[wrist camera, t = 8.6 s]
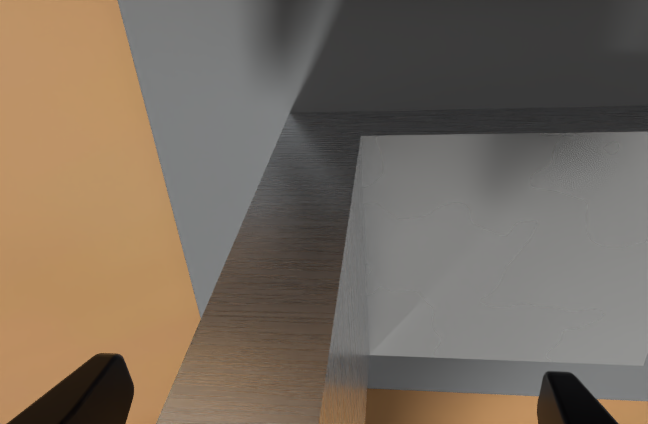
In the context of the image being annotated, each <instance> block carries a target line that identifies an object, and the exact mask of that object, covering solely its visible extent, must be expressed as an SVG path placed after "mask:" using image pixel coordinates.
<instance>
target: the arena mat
mask: <svg viewBox="0 0 648 424" xmlns="http://www.w3.org/2000/svg"><path fill="white" fill-rule="evenodd" d="M118 4H119V8H120V11H121V15H122V19H123V23H124V27H125V30H126V34H127V38H128V42H129V46H130V50H131V53H132V57H133V61H134V65H135V69H136V72H137V76H138V80H139V84H140V88H141V92H142V95H143V99H144V103H145V107H146V111H147V114H148V118H149V122H150V126H151V130H152V134H153V137H154V141H155V145H156V149H157V153H158V156H159V160H160V164H161V168H162V172H163V176H164V179H165V183H166V187H167V191H168V195H169V198H170V202H171V206H172V210H173V214H174V218H175V221H176V225H177V229H178V233H179V237H180V240H181V244H182V248H183V252H184V256H185V260H186V263H187V267H188V271H189V275H190V279H191V282H192V286H193V290H194V294H195V298H196V302H197V305H198V309H199V313H200V317H201V318H202V316H203V313H204V311H205V309H206V306H207V304H208V302H209V299H210V297H211V295H212V292H213V290H214V288H215V285H216V283H217V281H218V278H219V276H220V274H221V271H222V269H223V267H224V264H225V262H226V260H227V257H228V255H229V253H230V250H231V248H232V246H233V243H234V241H235V239H236V236H237V234H238V232H239V229H240V227H241V225H242V222H243V220H244V218H245V215H246V213H247V211H248V208H249V206H250V204H251V201H252V199H253V197H254V194H255V192H256V190H257V187H258V185H259V183H260V180H261V178H262V176H263V173H264V171H265V169H266V166H267V164H268V162H269V160H270V157H271V155H272V153H273V150H274V148H275V146H276V143H277V141H278V139H279V136H280V134H281V132H282V129H283V127H284V125H285V122H286V120H287V118H288V115H289V113H305V112H353V111H400V110H448V109H496V108H543V107H591V106H639V105H648V0H118ZM547 371H564V372H571V373H573V374H574V375H575V376H576V377H577V378H578V379H579V380H580V381H581V382H582V384H583V385H584V386H585V387H586V388H587V389H588V390H589V391H590V392H591V394H592V395H593V396H594V397H595V398H596V399H610V400H632V401H648V354H647V357H646V359H645V362H644V365H643V366H635V365H610V364H585V363H559V362H534V361H509V360H483V359H458V358H432V357H407V356H382V355H369V369H368V384H367V388H373V389H395V390H416V391H438V392H459V393H481V394H502V395H524V396H539V394H540V389H541V384H542V379H543V376H544V374H545V372H547Z"/></svg>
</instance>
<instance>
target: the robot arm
mask: <svg viewBox="0 0 648 424" xmlns="http://www.w3.org/2000/svg"><path fill="white" fill-rule="evenodd" d="M133 395H134V385H133V382H132V379H131V376H130V374H129V371H128V368H127V366H126V363H125V361H124V358H123V357H122V356H121V355H120V354H113V353H99V354H97V355H95V356H93V357H92V358H91V359H89V360H88V361H87V362H85V363H84V364H83V365H82V366H80V367H79V368H78V369H76V370H75V371H74V372H73V373H71V374H70V375H69V376H67V377H66V378H65V379H64V380H62V381H61V382H60V383H58V384H57V385H56V386H55V387H53V388H52V389H51V390H49V391H48V392H47V393H46V394H44V395H43V396H42V397H40V398H39V399H38V400H37V401H35V402H34V403H33V404H31V405H30V406H29V407H28V408H26V409H25V410H24V411H23V412H21V413H20V414H19V415H17V416H16V417H15V418H14V419H12V420H11V421H10V422H8V423H7V424H126V420H127V417H128V413H129V410H130V407H131V403H132V400H133ZM537 417H538V424H618V423H617V422H616V420H615V419H614V418H613V417H612V416H611V415H610V414H609V413H608V411H607V410H606V409H605V408H604V407H603V406H602V405H601V404H600V403H599V401H598V400H597V399H596V398H595V397H594V396H593V395H592V394H591V392H590V391H589V390H588V389H587V388H586V387H585V386H584V385H583V384H582V382H581V381H580V380H579V379H578V378H577V377H576V376H575V375H574V374H573V373H571V372H564V371H547V372H545V374H544V376H543V379H542V384H541V389H540V394H539V399H538V404H537Z"/></svg>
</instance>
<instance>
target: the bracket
mask: <svg viewBox="0 0 648 424" xmlns="http://www.w3.org/2000/svg"><path fill="white" fill-rule="evenodd" d="M647 354H648V105H639V106H591V107H543V108H496V109H448V110H400V111H353V112H305V113H289V115H288V118H287V120H286V122H285V125H284V127H283V129H282V132H281V134H280V136H279V139H278V141H277V143H276V146H275V148H274V150H273V153H272V155H271V157H270V160H269V162H268V164H267V166H266V169H265V171H264V173H263V176H262V178H261V180H260V183H259V185H258V187H257V190H256V192H255V194H254V197H253V199H252V201H251V204H250V206H249V208H248V211H247V213H246V215H245V218H244V220H243V222H242V225H241V227H240V229H239V232H238V234H237V236H236V239H235V241H234V243H233V246H232V248H231V250H230V253H229V255H228V257H227V260H226V262H225V264H224V267H223V269H222V271H221V274H220V276H219V278H218V281H217V283H216V285H215V288H214V290H213V292H212V295H211V297H210V299H209V302H208V304H207V306H206V309H205V311H204V313H203V316H202V318H201V320H200V323H199V325H198V327H197V330H196V332H195V334H194V337H193V339H192V341H191V344H190V346H189V348H188V351H187V353H186V355H185V358H184V360H183V362H182V365H181V367H180V369H179V372H178V374H177V376H176V379H175V381H174V383H173V386H172V388H171V390H170V393H169V395H168V397H167V400H166V402H165V404H164V407H163V409H162V411H161V414H160V416H159V418H158V421H157V423H156V424H365V415H366V400H367V384H368V369H369V355H382V356H407V357H432V358H458V359H483V360H509V361H534V362H559V363H585V364H610V365H635V366H643V365H644V362H645V359H646V357H647Z"/></svg>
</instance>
